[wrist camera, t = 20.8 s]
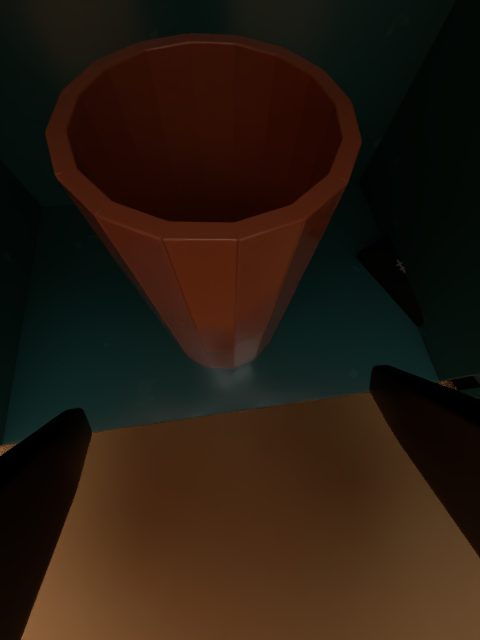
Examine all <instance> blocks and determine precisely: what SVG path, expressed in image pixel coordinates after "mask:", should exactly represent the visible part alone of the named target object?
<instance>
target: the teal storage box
mask: <svg viewBox="0 0 480 640" xmlns="http://www.w3.org/2000/svg"><path fill="white" fill-rule="evenodd" d="M189 33H196V34H221V35H236V36H243V37H246V38H250V39H254V40H258V41H262V42H265V43H269V44H273V45H277V46H281V47H283V48H286V49H288V50H290V51H292V52H293V53H295V54H297V55H299V56H300V57H302V58H304V59H306V60H308V61H309V62H311V63H313V64H315V65H317V66H318V67H320V68H322V69H323V70H324V71H326V72H327V73H328V75H329V76H330V77H331V78H332V79H333V80H334V81H335V82H336V84H337V85H338V86H339V87H340V88H341V89H342V90H343V91H344V93H345V94H346V95H347V96H348V97H349V98H350V99H351V102H352V103H353V106H354V110H355V114H356V118H357V122H358V126H359V130H360V134H361V137H362V144H361V147H360V150H359V153H358V156H357V159H356V162H355V165H354V168H353V170H352V173H351V176H350V179H349V182H348V184H347V186H346V188H345V190H344V192H343V194H342V196H341V198H340V200H339V203H338V205H337V207H336V209H335V211H334V213H333V215H332V217H331V219H330V221H329V223H328V225H327V227H326V229H325V231H324V233H323V235H322V237H321V239H320V241H319V243H318V245H317V247H316V249H315V251H314V253H313V255H312V258H311V260H310V262H309V264H308V266H307V268H306V270H305V272H304V274H303V276H302V278H301V280H300V282H299V284H298V286H297V288H296V290H295V292H294V294H293V296H292V298H291V300H290V302H289V304H288V306H287V308H286V310H285V313H284V315H283V317H282V319H281V321H280V323H279V325H278V327H277V329H276V331H275V333H274V335H273V337H272V339H271V341H270V343H269V344H268V345H267V346H266V348H265V349H264V350H263V351H262V353H261V354H260V355H258V356H257V357H256V358H255V359H253V360H252V361H250V362H249V363H246V364H244V365H242V366H239V367H236V368H231V369H214V368H209V367H206V366H203V365H200V364H198V363H196V362H195V361H193V360H192V359H190V358H189V357H188V356H187V355H186V354H184V352H183V351H182V350H181V349H180V348H179V347H178V345H177V344H176V343H175V342H174V341H173V339H172V338H171V337H170V335H169V334H168V332H167V331H166V330H165V328H164V327H163V326H162V324H161V323H160V321H159V320H158V319H157V317H156V316H155V314H154V313H153V312H152V310H151V309H150V308H149V306H148V305H147V303H146V302H145V301H144V299H143V298H142V296H141V295H140V294H139V292H138V291H137V290H136V288H135V287H134V285H133V284H132V283H131V281H130V280H129V278H128V277H127V276H126V274H125V273H124V272H123V270H122V269H121V267H120V266H119V265H118V263H117V262H116V260H115V259H114V258H113V256H112V255H111V254H110V252H109V251H108V249H107V248H106V247H105V245H104V244H103V242H102V241H101V240H100V238H99V237H98V236H97V234H96V233H95V231H94V230H93V229H92V227H91V226H90V224H89V223H88V222H87V220H86V219H85V218H84V216H83V215H82V213H81V212H80V211H79V209H78V208H77V206H76V205H75V204H74V202H73V201H72V200H71V198H70V197H69V195H68V194H67V193H66V191H65V190H64V188H63V187H62V186H61V184H60V183H59V182H58V180H57V178H56V177H55V174H54V170H53V166H52V161H51V157H50V153H49V149H48V144H47V140H46V136H45V132H46V131H45V130H46V127H47V124H48V122H49V119H50V117H51V114H52V112H53V109H54V107H55V104H56V102H57V99H58V97H59V94H60V93H61V91H62V90H63V89H64V88H65V87H66V86H67V85H69V84H70V83H71V82H72V81H73V80H74V79H75V78H76V77H77V76H78V75H80V74H81V73H82V72H83V71H84V70H85V69H86V68H87V67H88V66H90V65H91V64H92V63H93V62H95V61H96V60H99V59H101V58H103V57H105V56H108V55H110V54H112V53H114V52H117V51H119V50H121V49H123V48H126V47H128V46H130V45H132V44H135V43H137V42H138V43H139V42H140V41H146V40H152V39H157V38H163V37H169V36H174V35H180V34H189ZM388 235H389V236H390V239H391V241H392V243H393V246H394V248H395V251H396V253H397V255H398V256H400V258H401V260H402V263H403V265H404V267H405V270H406V273H405V274H406V277H407V279H408V282H409V284H410V286H411V289H412V291H413V294H414V296H415V298H416V301H417V303H418V306H419V308H420V311H421V313H422V316H423V319H424V322H425V323H424V324H422V325H420V326H418V327H417V326H416V325H415V323H414V322H413V321H412V320H411V319H410V318H409V317H408V316H407V314H406V313H405V312H404V311H403V310H402V309H401V308H400V307H399V305H398V304H397V303H396V302H395V301H394V300H393V299H392V298H391V296H390V295H389V294H388V293H387V292H386V291H385V290H384V289H383V287H382V286H381V285H380V284H379V283H378V282H377V281H376V279H375V278H374V277H373V276H372V275H371V274H370V273H369V272H368V270H367V269H366V268H365V267H364V266H363V265H362V264H361V263H360V261H359V260H358V259H357V258H356V256H357V255H358V253H359V252H360V251H361V250H363V249H364V248H366V247H368V246H370V245H371V244H373V243H375V242H377V241H379V240H381V239H382V238H384V237H386V236H388ZM378 365H389V366H392V367H395V368H397V369H400V370H403V371H405V372H408V373H411V374H413V375H416V376H419V377H421V378H424V379H427V380H429V381H432V382H435V383H437V382H444V381H449V380H455V379H460V378H466V377H471V376H476V375H480V0H0V446H6V445H13V444H18V443H20V442H21V441H22V440H24V439H25V438H27V437H28V436H30V435H31V434H32V433H34V432H35V431H37V430H38V429H39V428H41V427H42V426H44V425H45V424H46V423H48V422H49V421H51V420H52V419H54V418H55V417H56V416H58V415H59V414H61V413H62V412H63V411H65V410H68V409H74V408H82V409H83V410H84V412H85V414H86V417H87V419H88V421H89V424H90V426H91V430H92V433H95V432H102V431H109V430H115V429H122V428H129V427H136V426H143V425H150V424H157V423H163V422H170V421H177V420H184V419H191V418H198V417H205V416H211V415H218V414H225V413H232V412H239V411H246V410H252V409H259V408H266V407H273V406H280V405H287V404H294V403H300V402H307V401H314V400H321V399H328V398H335V397H342V396H348V395H355V394H362V393H369V392H370V390H369V385H370V378H371V372H372V368H373V367H374V366H378Z"/></svg>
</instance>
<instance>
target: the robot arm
mask: <svg viewBox="0 0 480 640" xmlns="http://www.w3.org/2000/svg"><path fill="white" fill-rule="evenodd" d="M369 390H370V393H371V395H372V397H373V399H374V401H375V402H376V404H377V406H378V408H379V410H380V411H381V413H382V415H383V417H384V418H385V420H386V422H387V424H388V425H389V427H390V429H391V431H392V432H393V434H394V436H395V437H396V439H397V440H398V442H399V443H400V445H401V446H402V448H403V449H404V450H405V452H406V453H407V455H408V456H409V457H410V459H411V460H412V462H413V463H414V465H415V466H416V467H417V469H418V470H419V472H420V473H421V475H422V476H423V477H424V479H425V480H426V482H427V483H428V485H429V486H430V487H431V489H432V490H433V492H434V493H435V495H436V496H437V497H438V499H439V500H440V502H441V503H442V505H443V506H444V507H445V509H446V510H447V512H448V513H449V515H450V516H451V517H452V519H453V520H454V522H455V523H456V525H457V526H458V527H459V529H460V530H461V532H462V533H463V534H464V536H465V537H466V539H467V540H468V542H469V543H470V544H471V546H472V547H473V549H474V550H475V552H476V553H477V554H478V556H479V557H480V399H477V398H475V397H472V396H469V395H467V394H464V393H461V392H459V391H456V390H453V389H451V388H448V387H445V386H443V385H440V384H437V383H435V382H432V381H429V380H427V379H424V378H421V377H419V376H416V375H413V374H411V373H408V372H405V371H403V370H400V369H397V368H395V367H392V366H389V365H378V366H374V367H373V368H372V372H371V378H370V385H369ZM91 435H92V430H91V426H90V424H89V421H88V419H87V417H86V414H85V412H84V410H83V409H82V408H74V409H68V410H65V411H63V412H62V413H61V414H59V415H58V416H56V417H55V418H54V419H52V420H51V421H49V422H48V423H46V424H45V425H44V426H42V427H41V428H39V429H38V430H37V431H35V432H34V433H32V434H31V435H30V436H28V437H27V438H25V439H24V440H22V441H21V442H20V443H18V444H17V445H15V446H14V447H13V448H11V449H10V450H8V451H7V452H6V453H4V454H3V455H1V456H0V640H21V637H22V635H23V632H24V629H25V627H26V624H27V621H28V619H29V616H30V613H31V611H32V608H33V606H34V603H35V600H36V598H37V595H38V592H39V590H40V587H41V584H42V582H43V579H44V576H45V574H46V571H47V568H48V566H49V563H50V560H51V558H52V555H53V552H54V550H55V547H56V544H57V542H58V539H59V536H60V534H61V531H62V528H63V526H64V523H65V521H66V518H67V515H68V513H69V510H70V507H71V505H72V502H73V499H74V496H75V494H76V491H77V488H78V484H79V481H80V477H81V473H82V470H83V466H84V462H85V458H86V455H87V451H88V447H89V443H90V440H91Z"/></svg>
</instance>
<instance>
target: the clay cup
mask: <svg viewBox="0 0 480 640" xmlns="http://www.w3.org/2000/svg"><path fill="white" fill-rule="evenodd" d="M45 131H46V132H45V136H46V140H47V144H48V149H49V153H50V157H51V161H52V166H53V170H54V174H55V177H56V178H57V180H58V182H59V183H60V184H61V186H62V187H63V188H64V190H65V191H66V193H67V194H68V195H69V197H70V198H71V200H72V201H73V202H74V204H75V205H76V206H77V208H78V209H79V211H80V212H81V213H82V215H83V216H84V218H85V219H86V220H87V222H88V223H89V224H90V226H91V227H92V229H93V230H94V231H95V233H96V234H97V236H98V237H99V238H100V240H101V241H102V242H103V244H104V245H105V247H106V248H107V249H108V251H109V252H110V254H111V255H112V256H113V258H114V259H115V260H116V262H117V263H118V265H119V266H120V267H121V269H122V270H123V272H124V273H125V274H126V276H127V277H128V278H129V280H130V281H131V283H132V284H133V285H134V287H135V288H136V290H137V291H138V292H139V294H140V295H141V296H142V298H143V299H144V301H145V302H146V303H147V305H148V306H149V308H150V309H151V310H152V312H153V313H154V314H155V316H156V317H157V319H158V320H159V321H160V323H161V324H162V326H163V327H164V328H165V330H166V331H167V332H168V334H169V335H170V337H171V338H172V339H173V341H174V342H175V343H176V344H177V345H178V347H179V348H180V349H181V350H182V351H183V352H184V354H186V355H187V356H188V357H189V358H190V359H192V360H193V361H195V362H196V363H198V364H200V365H203V366H206V367H209V368H214V369H231V368H236V367H239V366H242V365H244V364H246V363H249V362H250V361H252V360H253V359H255V358H256V357H257V356H258V355H260V354H261V353H262V351H263V350H264V349H265V348H266V346H267V345H268V344H269V343H270V341H271V339H272V337H273V335H274V333H275V331H276V329H277V327H278V325H279V323H280V321H281V319H282V317H283V315H284V313H285V310H286V308H287V306H288V304H289V302H290V300H291V298H292V296H293V294H294V292H295V290H296V288H297V286H298V284H299V282H300V280H301V278H302V276H303V274H304V272H305V270H306V268H307V266H308V264H309V262H310V260H311V258H312V255H313V253H314V251H315V249H316V247H317V245H318V243H319V241H320V239H321V237H322V235H323V233H324V231H325V229H326V227H327V225H328V223H329V221H330V219H331V217H332V215H333V213H334V211H335V209H336V207H337V205H338V203H339V200H340V198H341V196H342V194H343V192H344V190H345V188H346V186H347V184H348V182H349V179H350V176H351V173H352V170H353V168H354V165H355V162H356V159H357V156H358V153H359V150H360V147H361V144H362V137H361V134H360V130H359V126H358V122H357V118H356V114H355V110H354V106H353V103H352V102H351V99H350V98H349V97H348V96H347V95H346V94H345V93H344V91H343V90H342V89H341V88H340V87H339V86H338V85H337V84H336V82H335V81H334V80H333V79H332V78H331V77H330V76H329V75H328V73H327V72H326V71H324V70H323V69H322V68H320V67H318V66H317V65H315V64H313V63H311V62H309V61H308V60H306V59H304V58H302V57H300V56H299V55H297V54H295V53H293V52H292V51H290V50H288V49H286V48H283V47H281V46H277V45H273V44H269V43H265V42H262V41H258V40H254V39H250V38H246V37H243V36H236V35H221V34H196V33H189V34H180V35H174V36H169V37H163V38H157V39H152V40H146V41H140V42H139V43H138V42H137V43H135V44H132V45H130V46H128V47H126V48H123V49H121V50H119V51H117V52H114V53H112V54H110V55H108V56H105V57H103V58H101V59H99V60H96V61H95V62H93V63H92V64H91V65H90V66H88V67H87V68H86V69H85V70H84V71H83V72H82V73H81V74H80V75H78V76H77V77H76V78H75V79H74V80H73V81H72V82H71V83H70V84H69V85H67V86H66V87H65V88H64V89H63V90H62V91H61V93H60V94H59V97H58V99H57V102H56V104H55V107H54V109H53V112H52V114H51V117H50V119H49V122H48V124H47V127H46V130H45Z"/></svg>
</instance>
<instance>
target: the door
mask: <svg viewBox="0 0 480 640" xmlns="http://www.w3.org/2000/svg"><path fill="white" fill-rule="evenodd" d="M457 391H459V392H461V393H464V394H467V395H469V396H472V397H475V398H477V399H480V388H472V389H465V390H457Z"/></svg>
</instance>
